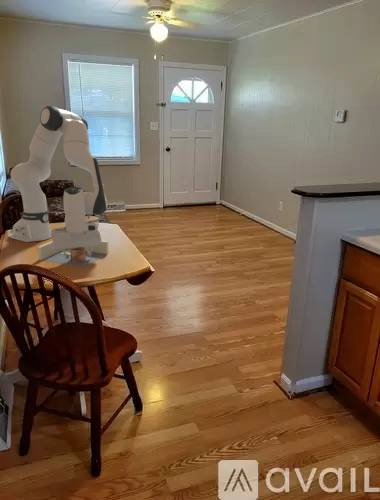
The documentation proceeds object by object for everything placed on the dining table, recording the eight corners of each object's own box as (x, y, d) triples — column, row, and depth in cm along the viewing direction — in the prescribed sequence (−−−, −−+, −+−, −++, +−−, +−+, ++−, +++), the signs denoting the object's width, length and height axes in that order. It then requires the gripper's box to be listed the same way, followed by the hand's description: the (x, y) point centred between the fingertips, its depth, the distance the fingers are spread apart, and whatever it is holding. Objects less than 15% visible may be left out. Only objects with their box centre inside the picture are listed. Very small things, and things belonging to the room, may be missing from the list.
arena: (39, 262, 167) (37, 246, 164) (67, 249, 184) (65, 235, 182) (84, 270, 160) (83, 254, 157) (108, 255, 177) (108, 241, 175)
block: (72, 263, 163) (71, 250, 161) (70, 259, 168) (69, 246, 166) (85, 261, 166) (85, 249, 164) (83, 257, 170) (82, 245, 168)
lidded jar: (103, 231, 213) (102, 215, 210) (86, 235, 206) (85, 218, 202) (92, 228, 220) (91, 212, 217) (75, 231, 212) (74, 215, 209)
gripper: (51, 230, 155) (54, 262, 159) (101, 226, 163) (102, 256, 168) (49, 226, 160) (52, 257, 165) (98, 222, 169) (99, 251, 173)
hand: (78, 256), depth 166 cm, fingers open, 8 cm apart
